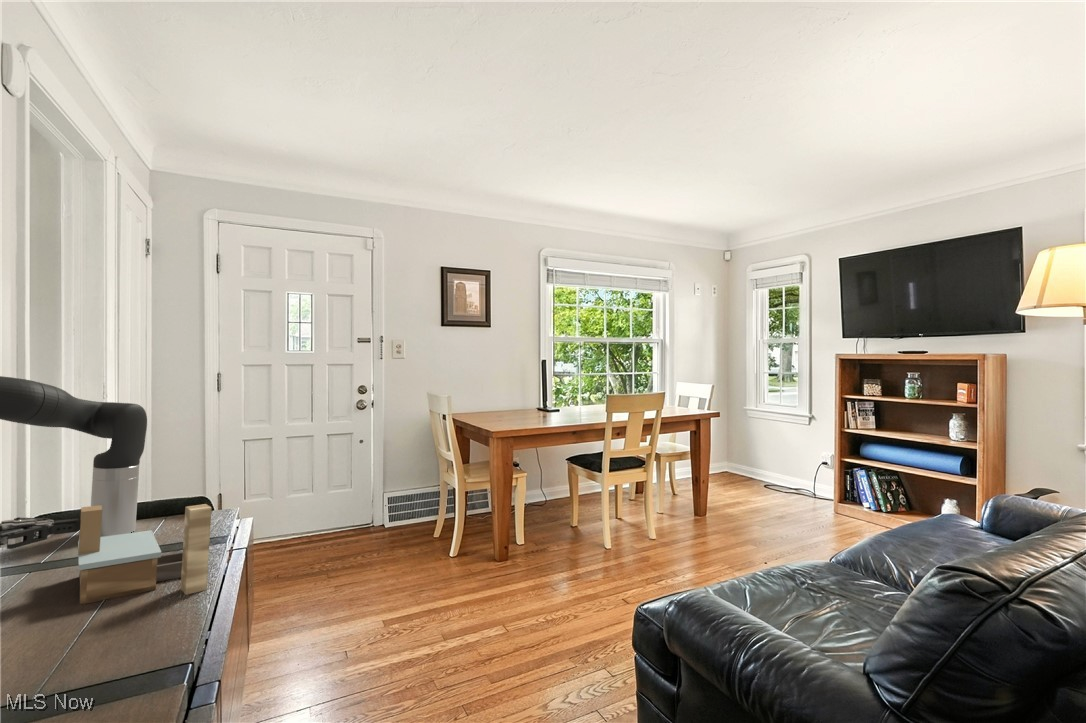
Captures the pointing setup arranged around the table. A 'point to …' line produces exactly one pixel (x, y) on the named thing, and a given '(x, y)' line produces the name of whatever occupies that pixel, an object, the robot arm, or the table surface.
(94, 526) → the lid
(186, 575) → the wooden block
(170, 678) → the table surface
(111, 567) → the wooden box
